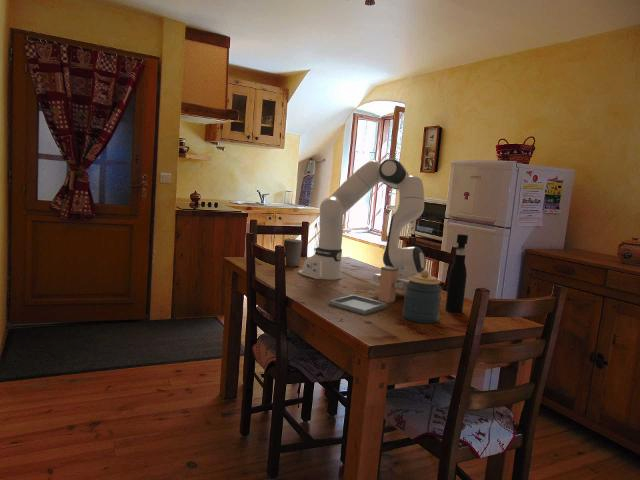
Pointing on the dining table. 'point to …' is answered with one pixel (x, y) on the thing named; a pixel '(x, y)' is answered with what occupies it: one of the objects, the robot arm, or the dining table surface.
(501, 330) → the dining table surface
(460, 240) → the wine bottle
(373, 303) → the tray
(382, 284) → the tea tin
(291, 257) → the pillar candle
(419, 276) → the canister
